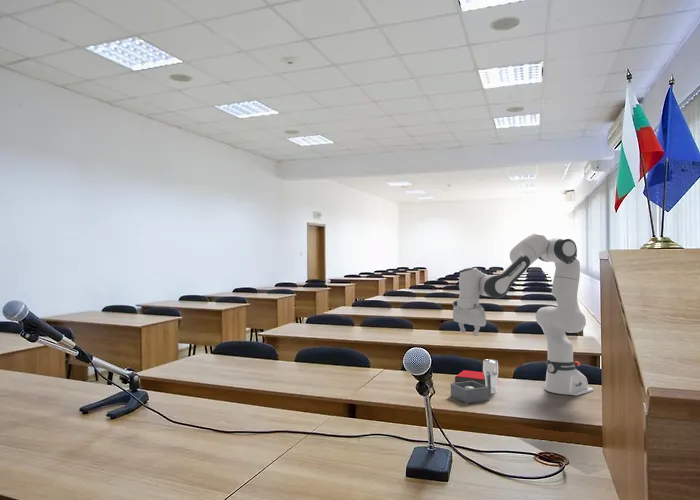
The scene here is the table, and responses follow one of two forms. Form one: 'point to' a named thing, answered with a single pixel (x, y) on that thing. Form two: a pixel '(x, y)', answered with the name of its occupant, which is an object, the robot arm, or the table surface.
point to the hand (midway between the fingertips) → (469, 334)
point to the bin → (469, 392)
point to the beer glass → (490, 374)
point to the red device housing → (470, 377)
